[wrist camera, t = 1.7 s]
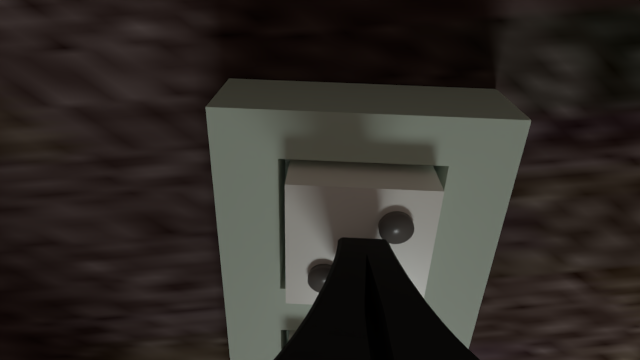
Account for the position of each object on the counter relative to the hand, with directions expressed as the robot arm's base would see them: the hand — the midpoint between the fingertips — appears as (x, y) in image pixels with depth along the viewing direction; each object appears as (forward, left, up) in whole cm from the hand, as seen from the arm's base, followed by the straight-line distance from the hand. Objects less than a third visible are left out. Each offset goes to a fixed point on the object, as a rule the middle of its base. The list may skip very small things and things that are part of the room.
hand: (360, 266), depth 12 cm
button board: (0, -7, -5) cm, 9 cm away
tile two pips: (0, 0, -3) cm, 3 cm away
